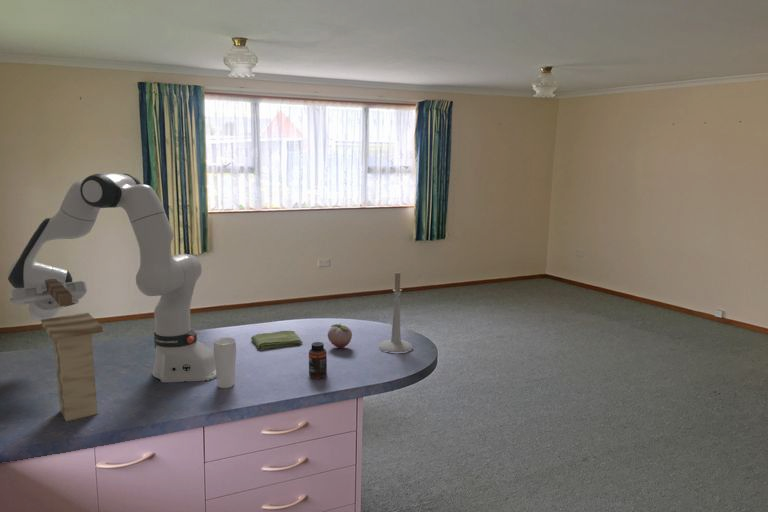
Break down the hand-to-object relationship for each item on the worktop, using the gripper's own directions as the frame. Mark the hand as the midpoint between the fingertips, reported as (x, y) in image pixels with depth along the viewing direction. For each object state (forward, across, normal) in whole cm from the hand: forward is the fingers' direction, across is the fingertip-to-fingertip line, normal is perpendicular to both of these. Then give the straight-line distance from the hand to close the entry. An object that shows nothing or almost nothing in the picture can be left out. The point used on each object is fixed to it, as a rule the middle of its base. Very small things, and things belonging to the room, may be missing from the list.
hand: (52, 285), depth 177 cm
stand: (+4, 0, +40) cm, 40 cm away
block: (+5, 0, +5) cm, 7 cm away
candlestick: (+14, +108, +45) cm, 118 cm away
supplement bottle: (+19, +69, +48) cm, 86 cm away
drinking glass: (+10, +41, +43) cm, 60 cm away
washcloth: (-14, +74, +30) cm, 81 cm away
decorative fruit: (+4, +90, +40) cm, 99 cm away
